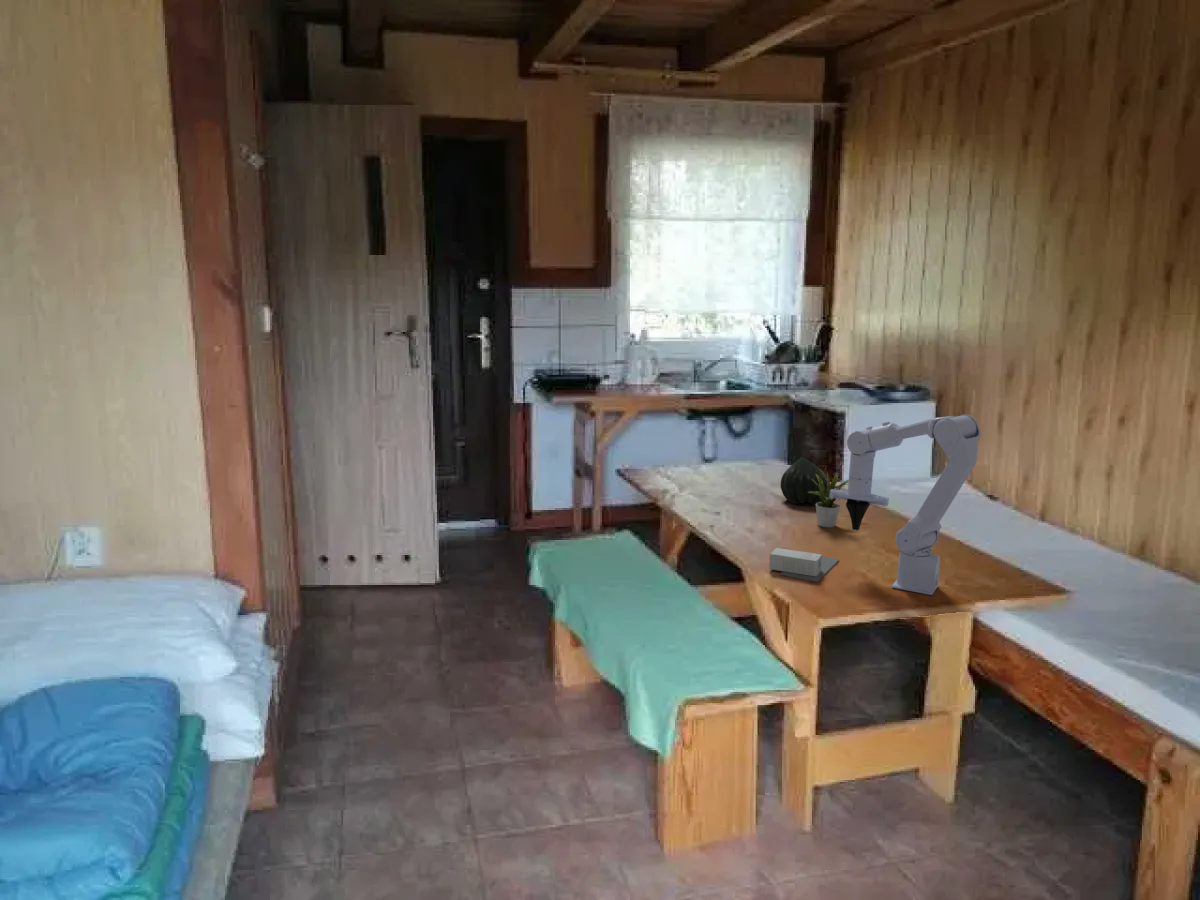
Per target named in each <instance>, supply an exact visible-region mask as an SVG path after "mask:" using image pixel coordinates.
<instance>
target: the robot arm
mask: <svg viewBox="0 0 1200 900" xmlns="http://www.w3.org/2000/svg"><path fill="white" fill-rule="evenodd" d="M924 435H927V436H928V437H929V438H930V439H935V441H936V442H937V444H938V445H939V446H940V448H941V450H943V452H944V454H945V455H946V456H947V458H948V462H947V464H946V466H945V467H944V469H943V470H942V472H941V474H940V476H939V477H938V479H937V481H936V482H935V484H934V485H933V487H932V488H931V490H930V492H929V493H928V495H927V497H926V499H925V500H924V502H923V503H922V505H921V507H920V508H919V510H918V512H917V513H916V514H915V515H914V516H913V517H912V518H911V519H909V520H908V521H907V522H906V524H905V525H904V526H903V527H902V528H899V529H898V530H897V532H896V534H895V535H894V536H895V538H894V539H895V541H894V542H895V545H896V547H897V549H898V552H899V556H898V566H897V576H896V580H895V581H894V582H893V584H892V585H891V588H892V589H893V588H894V589H899V590H902V591H903V590H904V591H908V592H913V593H920V594H924V595H930V596H933V594H934V593H935V591H936V590H937V588H938V587H939V578H940V577H939V576H940V567H941V557H940V555H938V554H937V555H936V554H933V553H932V550H933V547H934V546H935V545H936V544H937V542H938V540H939V533H940V530H941V529H942V524H941V523H940V522H941V521H942V519H943V517H944V516H945V514H946V512H947V510H948V509H949V507H950V506H951V504H952V502H953V501H954V500H955V498H956V496H957V494H958V493H959V491H960V490H961V488H962V487H963V485H964V483H966V480H967V479H968V477H969V475H970V473H972V471H973V469H974V468H975V466H976V463H977V461H978V460H977V458H978V445H979V439H980V437H981V436H982V432H981V429H980V425H979V424H978V421H977V420H976V419H975V417H973V416H971V415H970V414H961V415H959V416H956V415H949V416H940V417H931V418H928V419H927V418H926V419H924V420H919V421H916V422H913V423H910V424H909V423H908V424H906V425H905V424H904V425H903V426H900V425H898V424H897V423H894V422H892V423H891V422H890V421H886V422H882V425H880V426H875V427H873V426H868V427H866V429H865V430H855V431H854V432H851V433H850V434H849V435H848V436H847V440H846V444H847V445H846V447H847V448H848V450H849V452H850V460H849V472H848V480H849V481H847V482H848V483H847V484H848V485H847V490H848V491H845V490H842V489H840V490H835V489H834V490H833V489H832V490H830V495H829V498H837V499H838V500H839V499H840V500H843V501H844V500H846V503H845V506H846V509H847V511H848V513H849V514H848V515H849V516H850V521H851V526H852V527H851V529H852V530H854V531H859V530H860V527H861V525H862V522H863V519H864V517H865V514H866V512H867V510H868V508H869V507H870V506H871V505H878V506H882V507H887V506H889V501H890V498H889V497H888V496H887V497H886V496H882V495H877V494H874V493H872V487H873V486H872V485H873V484H872V483H873V475H874V463H875V462H874V461H875V457H876V452H877V451H882V450H886V449H890V448H891V449H892V448H895V447H899V446H900V445H902V443H903V441H904V440H905V439H910V438H915V437H920V436H924ZM837 499H836V500H837Z"/></svg>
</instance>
